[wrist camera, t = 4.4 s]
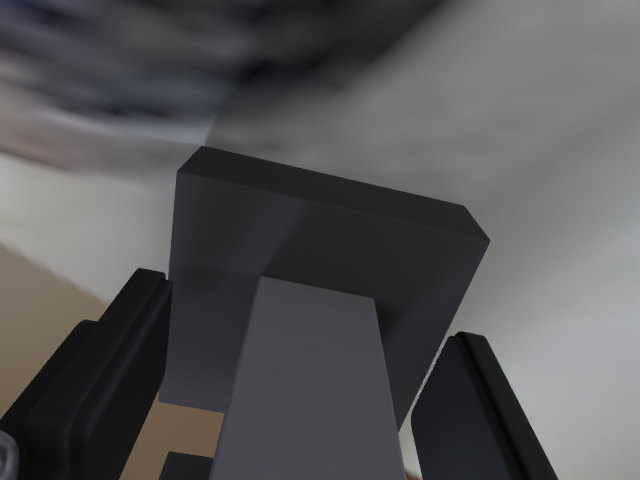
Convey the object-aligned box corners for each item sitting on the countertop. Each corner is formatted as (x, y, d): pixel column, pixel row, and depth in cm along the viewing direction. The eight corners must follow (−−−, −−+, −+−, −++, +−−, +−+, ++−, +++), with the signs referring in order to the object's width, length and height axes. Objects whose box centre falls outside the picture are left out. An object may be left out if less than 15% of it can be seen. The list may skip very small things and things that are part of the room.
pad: (201, 145, 10) (-4, 354, 4) (465, 205, 11) (666, 470, 5) (173, 407, 15) (53, 715, 8) (364, 439, 16) (394, 745, 9)
